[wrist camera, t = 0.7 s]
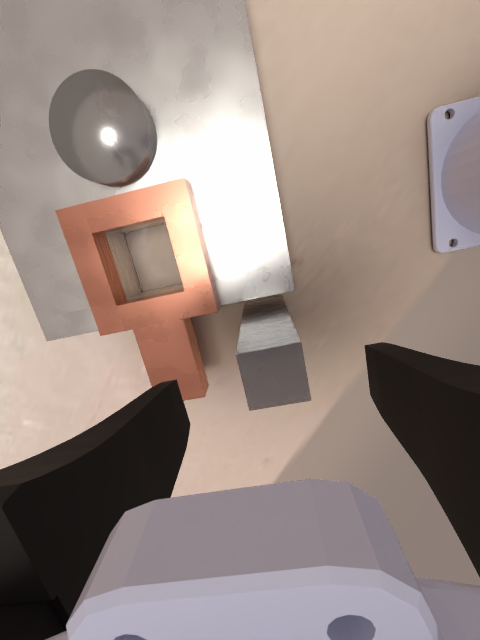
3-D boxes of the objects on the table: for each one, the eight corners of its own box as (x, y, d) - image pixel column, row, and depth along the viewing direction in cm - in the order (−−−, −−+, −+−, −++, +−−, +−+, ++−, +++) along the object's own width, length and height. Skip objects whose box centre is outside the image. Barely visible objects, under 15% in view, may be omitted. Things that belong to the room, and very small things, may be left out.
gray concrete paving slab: (220, -113, 15) (208, -234, 11) (302, 352, 21) (312, 378, 18) (-63, -12, 17) (-160, -86, 13) (93, 390, 23) (61, 421, 19)
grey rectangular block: (281, 295, 20) (301, 342, 12) (288, 331, 21) (311, 400, 12) (244, 303, 21) (235, 354, 12) (251, 338, 21) (249, 410, 13)
